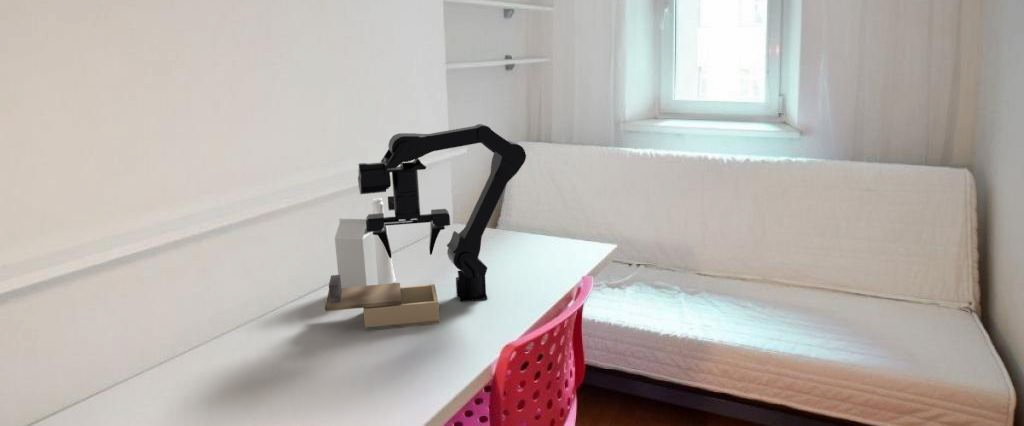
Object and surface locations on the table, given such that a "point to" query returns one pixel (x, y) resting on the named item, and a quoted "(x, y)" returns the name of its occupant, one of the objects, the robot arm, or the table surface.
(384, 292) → the lid
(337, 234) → the milk carton
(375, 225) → the robot arm
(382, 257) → the cosmetic bottle
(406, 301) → the box
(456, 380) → the table surface
